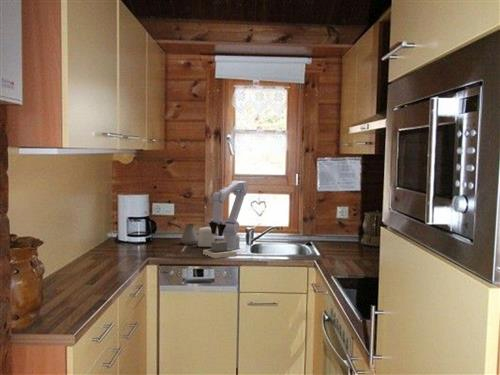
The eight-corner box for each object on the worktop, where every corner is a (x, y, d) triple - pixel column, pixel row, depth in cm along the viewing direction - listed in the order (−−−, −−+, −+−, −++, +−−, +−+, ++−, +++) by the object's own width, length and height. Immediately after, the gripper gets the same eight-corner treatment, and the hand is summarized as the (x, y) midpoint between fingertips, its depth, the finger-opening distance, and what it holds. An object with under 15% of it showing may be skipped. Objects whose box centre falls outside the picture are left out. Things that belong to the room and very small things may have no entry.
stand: (224, 251, 278) (224, 247, 278) (236, 255, 268) (236, 251, 268) (203, 254, 270) (203, 249, 269) (214, 258, 259) (214, 253, 259)
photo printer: (213, 245, 296) (214, 226, 295) (214, 247, 292) (214, 227, 291) (197, 245, 295) (198, 226, 294) (198, 247, 290) (198, 227, 290)
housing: (211, 250, 268) (211, 241, 267) (222, 249, 272) (223, 240, 272) (215, 251, 264) (215, 243, 264) (226, 250, 269) (227, 241, 268)
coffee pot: (191, 241, 308) (192, 219, 307) (201, 244, 300) (202, 221, 299) (164, 244, 294) (164, 221, 293) (174, 247, 286) (174, 224, 285)
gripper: (205, 211, 279) (205, 233, 279) (218, 213, 267) (217, 237, 268) (215, 211, 283) (214, 233, 284) (228, 213, 271) (227, 236, 272)
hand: (217, 235), depth 276 cm, fingers open, 7 cm apart
